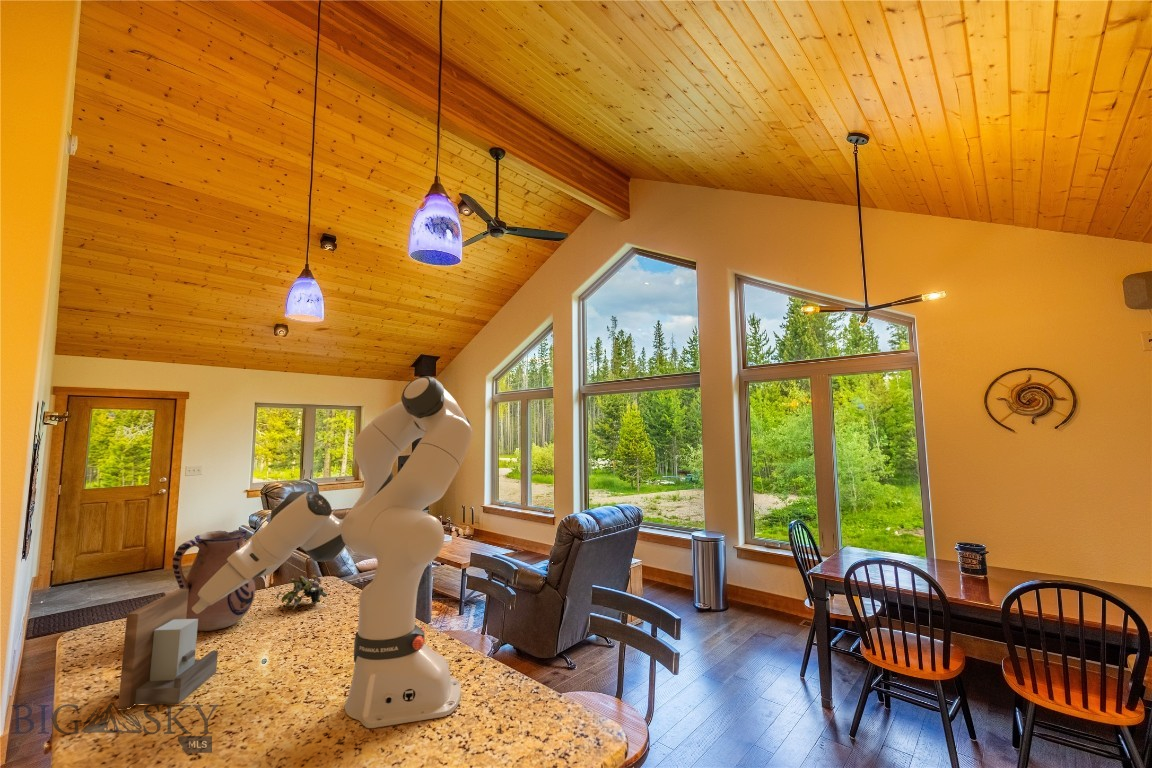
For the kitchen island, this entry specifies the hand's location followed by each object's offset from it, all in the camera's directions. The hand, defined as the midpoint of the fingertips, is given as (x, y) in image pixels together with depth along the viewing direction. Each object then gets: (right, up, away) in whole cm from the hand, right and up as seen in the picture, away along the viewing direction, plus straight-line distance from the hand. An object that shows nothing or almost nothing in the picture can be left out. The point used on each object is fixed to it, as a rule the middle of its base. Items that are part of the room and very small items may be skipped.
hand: (208, 602), depth 107 cm
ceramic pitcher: (-22, -21, +31) cm, 43 cm away
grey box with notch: (-7, -15, -1) cm, 16 cm away
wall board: (-7, -18, -1) cm, 19 cm away
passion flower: (-6, -22, +48) cm, 54 cm away
